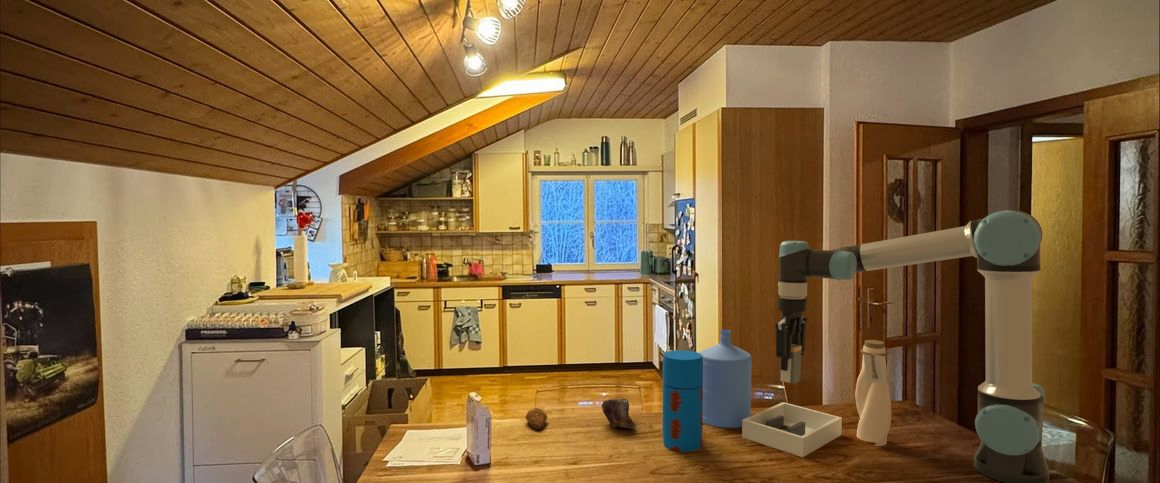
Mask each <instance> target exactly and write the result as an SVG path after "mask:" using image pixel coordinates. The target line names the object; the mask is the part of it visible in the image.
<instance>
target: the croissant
mask: <svg viewBox="0 0 1160 483" xmlns="http://www.w3.org/2000/svg"><path fill="white" fill-rule="evenodd" d="M524 418H525V419H526V421H527V422H528V423H529V425H530V426H531V428H532V429H533V430H536V431H542V430H543V428H544V427H545V424H546V422H547V419H548V415H547V414H546V412H545V410H544V409H541V408H538V407H536V408H534V409H529V410H528V411H527V414H526V415H525V417H524Z"/></svg>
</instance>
